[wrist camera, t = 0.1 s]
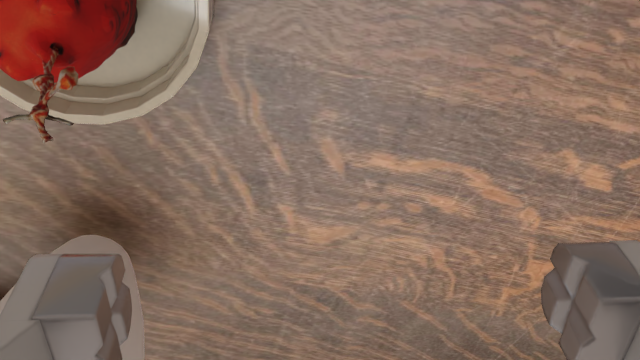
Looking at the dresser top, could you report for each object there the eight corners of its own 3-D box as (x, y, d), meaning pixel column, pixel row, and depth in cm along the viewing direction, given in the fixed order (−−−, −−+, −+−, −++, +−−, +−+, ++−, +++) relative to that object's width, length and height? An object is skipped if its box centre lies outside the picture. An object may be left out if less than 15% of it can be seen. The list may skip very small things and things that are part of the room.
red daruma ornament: (51, -121, 30) (-106, -47, 18) (174, -35, 33) (114, 81, 20) (-8, 1, 33) (-175, 136, 21) (110, 70, 36) (23, 226, 23)
